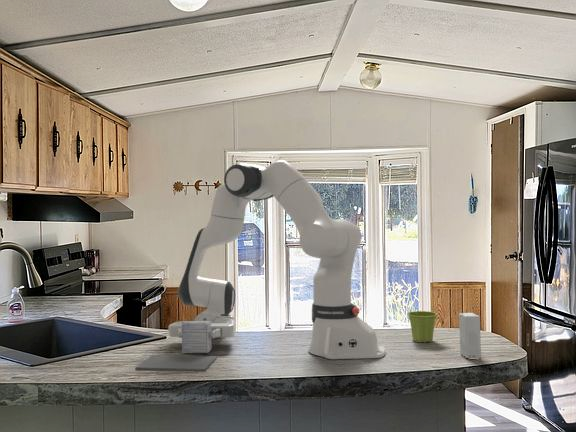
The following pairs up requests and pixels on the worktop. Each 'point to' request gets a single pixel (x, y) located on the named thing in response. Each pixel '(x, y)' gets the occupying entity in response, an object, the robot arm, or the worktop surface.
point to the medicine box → (196, 337)
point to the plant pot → (422, 325)
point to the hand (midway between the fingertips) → (195, 335)
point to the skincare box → (470, 335)
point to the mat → (176, 363)
